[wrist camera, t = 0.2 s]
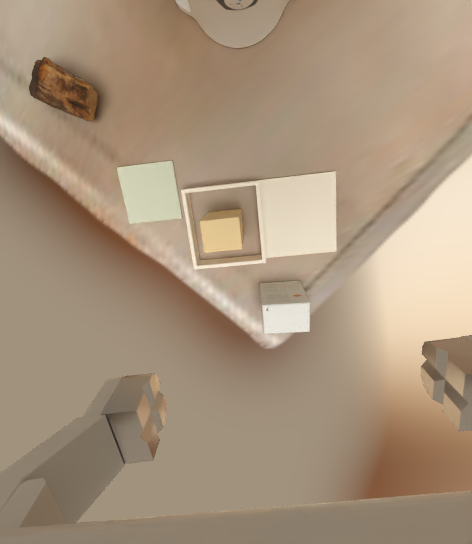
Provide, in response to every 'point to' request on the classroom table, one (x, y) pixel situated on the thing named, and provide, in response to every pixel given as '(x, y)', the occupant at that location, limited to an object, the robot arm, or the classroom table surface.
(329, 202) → the box
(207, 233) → the block
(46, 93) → the decorative rock
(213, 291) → the classroom table surface
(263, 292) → the small box
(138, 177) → the sage mat
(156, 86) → the classroom table surface
